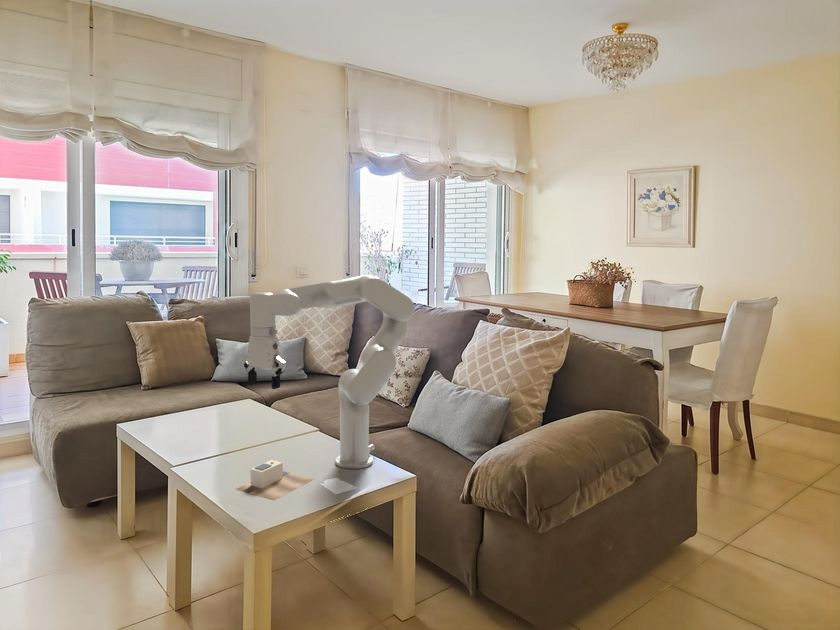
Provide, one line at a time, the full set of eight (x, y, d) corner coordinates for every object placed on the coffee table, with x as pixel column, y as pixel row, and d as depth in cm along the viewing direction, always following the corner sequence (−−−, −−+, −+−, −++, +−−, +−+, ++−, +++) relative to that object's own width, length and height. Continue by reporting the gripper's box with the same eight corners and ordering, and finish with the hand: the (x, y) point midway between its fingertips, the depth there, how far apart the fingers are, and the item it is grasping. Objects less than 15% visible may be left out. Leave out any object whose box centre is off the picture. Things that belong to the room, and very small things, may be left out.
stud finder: (271, 475, 192) (271, 458, 191) (282, 478, 190) (282, 461, 189) (250, 485, 184) (250, 468, 183) (262, 488, 182) (261, 471, 181)
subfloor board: (277, 472, 197) (277, 469, 196) (314, 482, 189) (314, 478, 189) (235, 492, 181) (235, 489, 181) (274, 503, 174) (274, 500, 174)
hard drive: (358, 487, 183) (336, 474, 193) (335, 494, 178) (313, 481, 187) (358, 492, 183) (336, 480, 193) (335, 499, 178) (313, 486, 188)
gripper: (292, 333, 190) (293, 387, 192) (251, 328, 198) (252, 380, 200) (276, 336, 183) (277, 392, 185) (233, 331, 191) (234, 385, 194)
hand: (264, 386), depth 193 cm, fingers open, 9 cm apart
